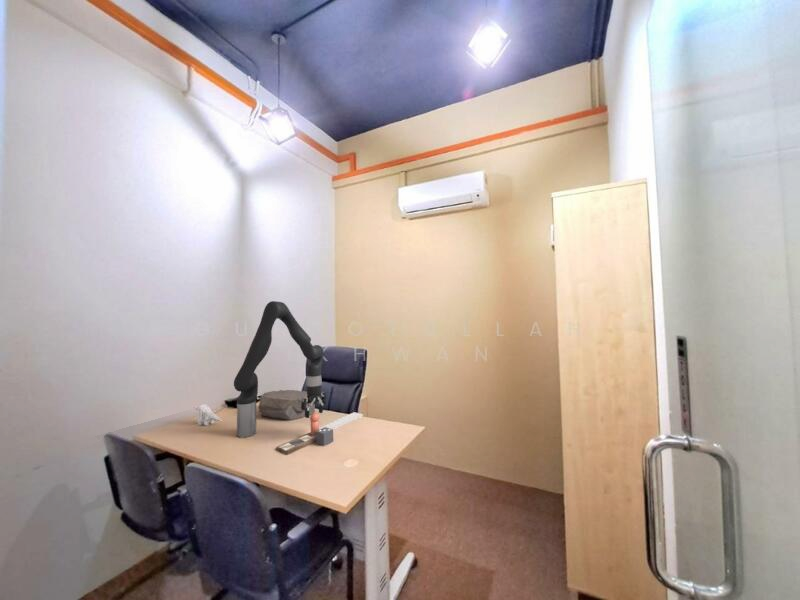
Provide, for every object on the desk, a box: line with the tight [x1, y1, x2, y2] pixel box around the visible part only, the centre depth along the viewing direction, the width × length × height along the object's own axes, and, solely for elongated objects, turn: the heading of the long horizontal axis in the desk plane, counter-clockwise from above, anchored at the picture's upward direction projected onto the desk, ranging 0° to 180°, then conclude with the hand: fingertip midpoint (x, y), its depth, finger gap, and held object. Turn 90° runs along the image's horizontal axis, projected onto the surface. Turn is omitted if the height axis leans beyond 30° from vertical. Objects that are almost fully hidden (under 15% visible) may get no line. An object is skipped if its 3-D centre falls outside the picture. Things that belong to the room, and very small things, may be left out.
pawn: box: [309, 412, 320, 436], centre depth 158 cm, size 5×5×11 cm
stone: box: [257, 389, 316, 421], centre depth 195 cm, size 37×26×15 cm
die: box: [315, 427, 334, 447], centre depth 151 cm, size 6×6×6 cm
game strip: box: [276, 431, 316, 456], centre depth 151 cm, size 9×22×2 cm, turn 145°
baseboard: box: [319, 410, 364, 431], centre depth 178 cm, size 30×3×10 cm
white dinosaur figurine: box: [193, 403, 224, 427], centre depth 179 cm, size 7×24×11 cm, turn 70°
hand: (314, 415), depth 158 cm, fingers open, 8 cm apart
